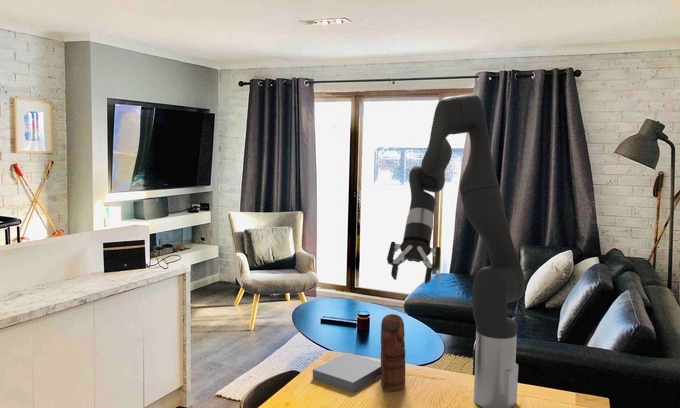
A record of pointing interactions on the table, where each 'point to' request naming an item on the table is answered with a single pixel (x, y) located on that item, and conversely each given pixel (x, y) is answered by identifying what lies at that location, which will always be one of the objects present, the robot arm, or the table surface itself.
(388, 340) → the wooden figurine
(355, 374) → the base
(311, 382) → the table surface
